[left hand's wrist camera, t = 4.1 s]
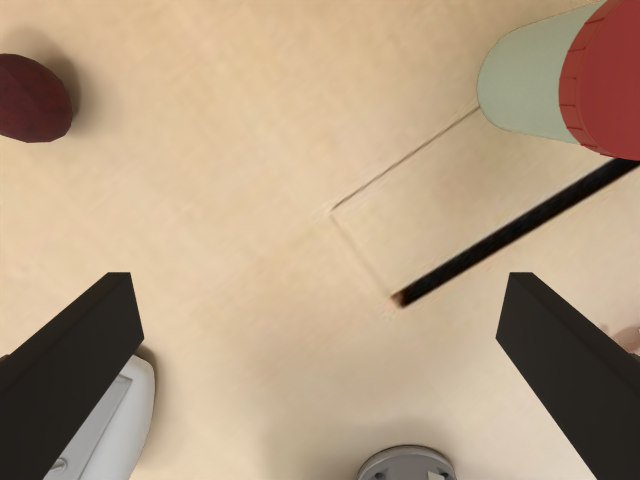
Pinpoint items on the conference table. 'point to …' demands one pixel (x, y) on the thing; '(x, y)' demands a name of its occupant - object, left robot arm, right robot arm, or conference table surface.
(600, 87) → the lid
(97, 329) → the left robot arm
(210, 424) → the conference table surface
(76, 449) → the projector
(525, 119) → the jar
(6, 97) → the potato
